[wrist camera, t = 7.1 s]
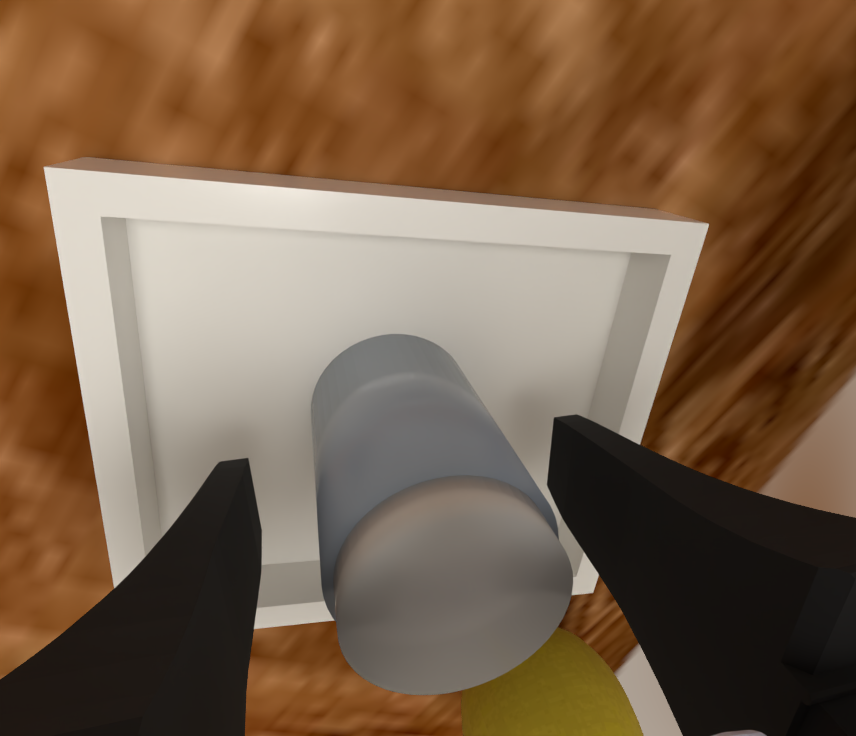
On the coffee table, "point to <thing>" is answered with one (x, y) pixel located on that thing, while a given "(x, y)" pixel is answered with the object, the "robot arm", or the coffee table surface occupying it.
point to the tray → (338, 330)
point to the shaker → (428, 524)
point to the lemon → (552, 696)
